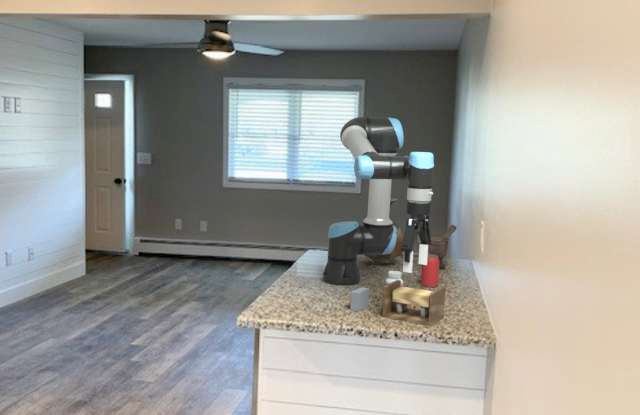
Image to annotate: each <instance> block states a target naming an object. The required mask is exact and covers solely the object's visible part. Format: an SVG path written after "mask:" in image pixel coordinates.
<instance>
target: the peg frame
mask: <svg viewBox="0 0 640 415" xmlns="http://www.w3.org/2000/svg"><path fill="white" fill-rule="evenodd" d="M385 285H386V284H385ZM385 285H384V286H383V302H382V304H383V306H382V307H383V308H382V318H386V319H392V320H397V321H401V322H402V321H403V322H408V323H412V324H419V325H424V326H427V327H429V326H430V327H433V326H435V325H436V324H437V323H438V322H439V321H441V320H442V319H444V318H445V317H444V316H445V302H446V301H445V300H446V286H439V287H438V288H437V289H435V290H433V291H434V292H432V293H430V307H429V308H428V307H422V306H420V310H419V309H415V308H414V309H413V308H409V307H408V304H405V303H399V302H393V301H392V300H393V290H395V289H397V288H399V287H400V286H401V280H396V281H394V282H392V283H390V284H388V285H386V286H385Z"/></svg>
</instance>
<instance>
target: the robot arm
mask: <svg viewBox="0 0 640 415" xmlns="http://www.w3.org/2000/svg"><path fill="white" fill-rule="evenodd" d="M403 130H404V129H403V125H402V123H401V121H400V120H399V119H398V118H393V117H387V116H386V117H384V116H383V117H382V116H381V117H380V116H379V117H378V116H377V117H375V116H374V117H373V116H372V117H371V116H357V117H355V118H351V119H350V120H348V121H347V122H346V123H345V124H344V125H343V126H342V128H341V130H340V134H339V138H340V141H341V143H342V145H343V147H344V148H346V149H347V150H349V152H350V153H351V155H352V157H353V158H354V162H353V163H354V164H353V171H354V176H355V177H356V179H363V180H364V179H365V180H369V182H368V183H369V185H368V201H367V202H368V203H367V216H366V217H365V218H364V219H363V222H362V225H361V224H360V225H359V223H358V221H354V220H352V221H339V222H333V223H332V224H331V225H330V226H329V228H328V235H327V239H328V240H327V241H328V242H327V262H326V265H325V267H324V270H323V273H322V281H323V282H324V283H327V284H332V285H342V286H343V285H345V286H346V285H347V286H349V285H356V284H359V283H360V282H361V281H362V279H361V276H362V275H361V273H360V268H359V265H358V256H359V255H362V256H365V255H384V254H390V253H391V252H392V251H393V250H394V248H395V245H396V240H397V234H396V233H397V230H396V227H395V226H393V222H394V221H393V220H392V219H391V220H392V221H393V222H392V221H391V220H390V218H391V217H390V218H389V212H390V211H391V210H390V209H391V206H390V198H391V195H392V180H398V181H399V180H403V181H405V180H407V193H406V200H408V201H407V202H406V211H405V212H406V214H408V215H411V217H410V218H406V220H405V221H406V222H405V223H406V224H405V230H404V234H403V242H402V246H401V251H403V261H402V262H403V263H402V273H409V274H412V273H413V262H414V261H413V260H414V251H413V248H414V245H415V242H416V239H417V236H418V238H419V241H420V244H419V246H418V247H419V249H418V265H422V264H423V265H427V258H428V254H429V245H431V237H432V236H431V229H430V228H431V227H430V215H431V211H432V204H431V201H432V196H433V195H434V192H433V179H434V178H433V177H434V167H435V163H434V160H435V159H434V157H435V156H434V154H433V152H429V151H428V152H426V151H411V152H410V153H409V155H405V156H396V155H398V150H400V149H402V147H403V144H404V138H405V137H404V131H403ZM390 213H391V212H390Z"/></svg>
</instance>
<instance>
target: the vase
mask: <svg viewBox="0 0 640 415" xmlns="http://www.w3.org/2000/svg"><path fill="white" fill-rule="evenodd" d="M397 201H398V199H397V198H391V197H390V207H391V206H392V204H393V203H396V202H397ZM390 213H391V212H389V218H390V220H391V221H392V222H393V226H395V227H396V230H397V233H396V234H397V240H396V245H395V248H394V250H393V251H392V252H391V253H390V254H384V255H364V256H365V257H367V258H369V259H370V260H373V261H376V262H377V263H379V264H380V265H382V264H389V263H390V262H391V261H393V260H394V259H396V258H398V257H400V256H402V255H403V254H404V251H401V246H402V242H403V237H404V234H403V230H402V229H401V227H400V225H398V223H396V222H395V221H394V220H392V219H391V215H390Z"/></svg>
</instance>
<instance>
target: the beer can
mask: <svg viewBox="0 0 640 415" xmlns="http://www.w3.org/2000/svg"><path fill="white" fill-rule="evenodd" d="M439 273H440V268H439V258H438V256H437V255H433V254H429V253H428V258H427V265H423V264H421V280H420V284H421V286H422V287H425V288H437V287H438V286H439V278H440V277H439V275H440V274H439Z"/></svg>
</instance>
